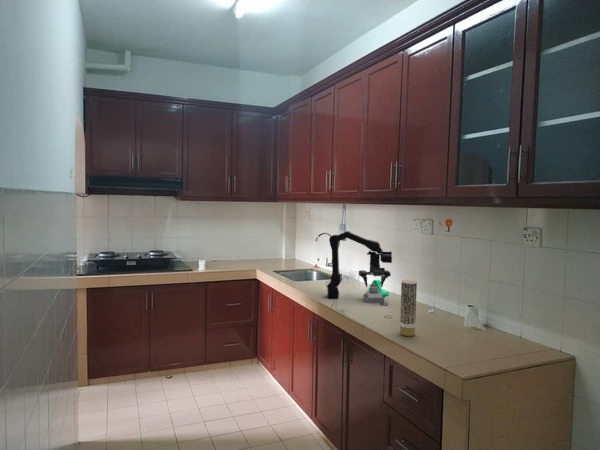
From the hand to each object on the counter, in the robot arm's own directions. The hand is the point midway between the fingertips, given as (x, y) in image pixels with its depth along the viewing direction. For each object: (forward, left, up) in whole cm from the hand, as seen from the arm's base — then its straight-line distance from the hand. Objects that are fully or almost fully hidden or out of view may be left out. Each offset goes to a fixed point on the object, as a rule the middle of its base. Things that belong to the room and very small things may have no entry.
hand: (374, 287), depth 248 cm
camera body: (0, 0, -8) cm, 9 cm away
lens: (0, 0, -6) cm, 6 cm away
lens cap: (+4, -9, -9) cm, 13 cm away
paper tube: (0, -61, -9) cm, 62 cm away
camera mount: (+8, +16, -9) cm, 20 cm away
